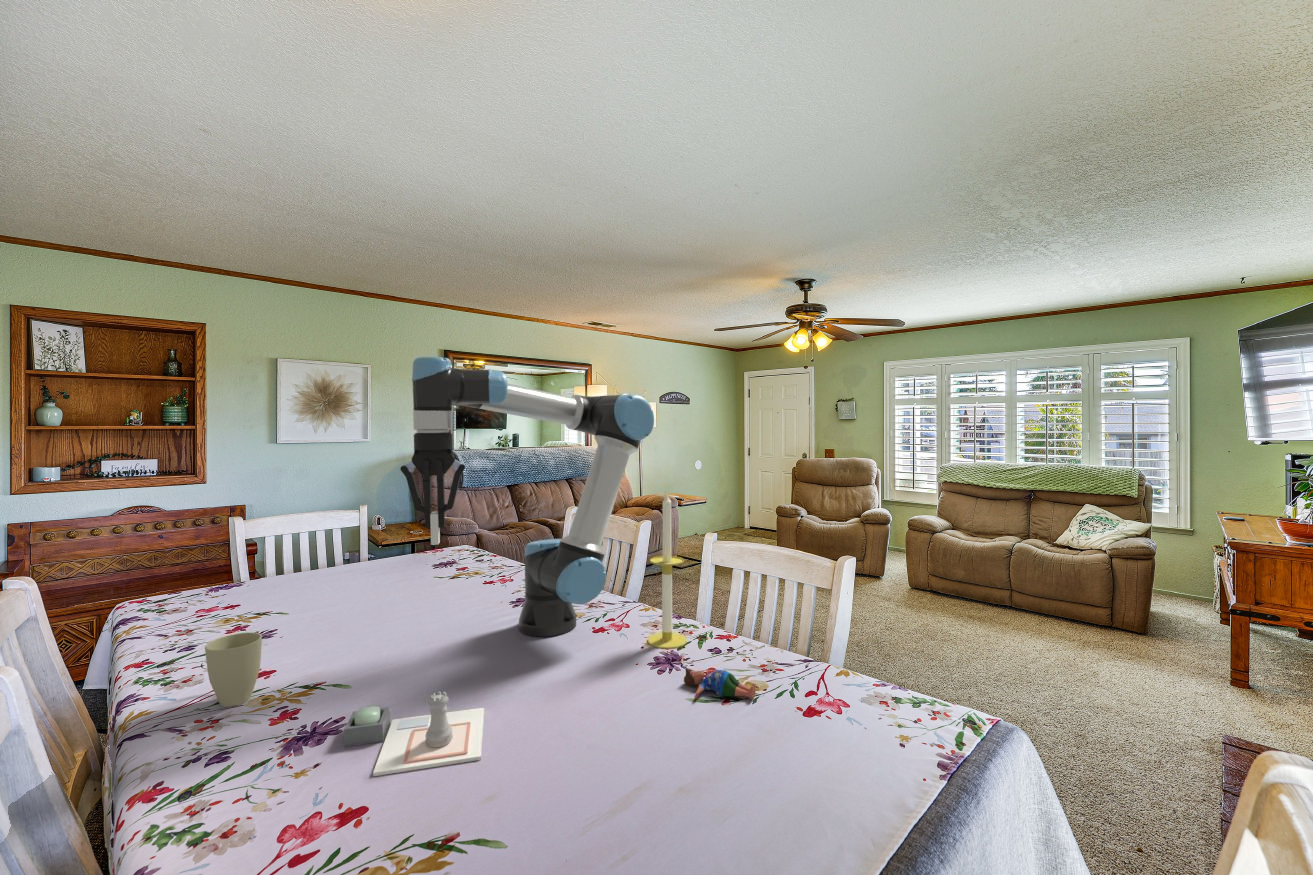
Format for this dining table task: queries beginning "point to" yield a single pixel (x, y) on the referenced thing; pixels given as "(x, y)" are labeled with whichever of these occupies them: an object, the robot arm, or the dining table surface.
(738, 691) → the toy character
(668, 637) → the paper towel holder
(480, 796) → the dining table surface
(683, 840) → the dining table surface
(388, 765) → the cream square board
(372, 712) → the button
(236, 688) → the mug
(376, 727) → the button housing
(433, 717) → the rook chess piece
